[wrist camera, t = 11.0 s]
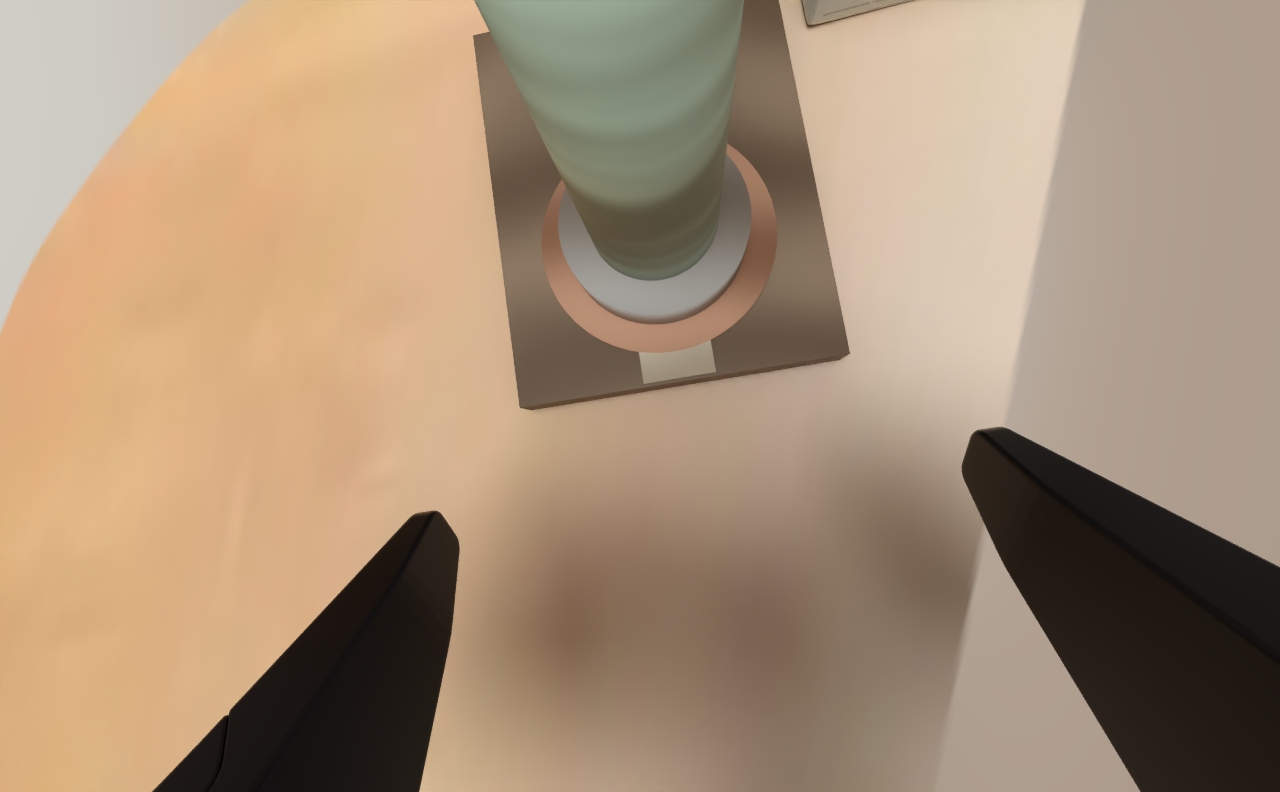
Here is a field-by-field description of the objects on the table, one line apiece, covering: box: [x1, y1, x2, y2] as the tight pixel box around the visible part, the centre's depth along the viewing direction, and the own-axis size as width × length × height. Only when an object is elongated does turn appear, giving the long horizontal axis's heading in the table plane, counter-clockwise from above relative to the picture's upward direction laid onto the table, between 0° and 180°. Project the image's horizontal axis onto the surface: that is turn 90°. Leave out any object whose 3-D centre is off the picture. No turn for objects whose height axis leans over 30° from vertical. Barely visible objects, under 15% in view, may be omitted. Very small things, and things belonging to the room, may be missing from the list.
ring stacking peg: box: [474, 0, 751, 324], centre depth 10 cm, size 6×6×14 cm
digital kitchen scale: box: [473, 0, 850, 410], centre depth 17 cm, size 14×11×4 cm
